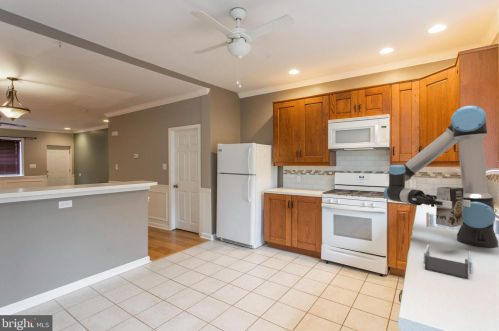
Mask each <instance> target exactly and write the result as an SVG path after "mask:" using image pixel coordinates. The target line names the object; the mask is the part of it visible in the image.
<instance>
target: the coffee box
mask: <svg viewBox="0 0 499 331" xmlns="http://www.w3.org/2000/svg"><path fill="white" fill-rule="evenodd" d="M463 192H464V188H462V187H455V186H444V187H441V186H439V187H436V196H437V199H438V200H445V201H451V202H452V208H446V207H441V206H436V208H435V209H436V211H435V213H436V214H435V224H436V225H438V226H439V225H440V226H444V227H448V228H449V227H450V228H455V227H459V226H460V227H461V225H463Z"/></svg>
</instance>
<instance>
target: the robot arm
mask: <svg viewBox="0 0 499 331" xmlns="http://www.w3.org/2000/svg"><path fill="white" fill-rule="evenodd" d="M450 123H451V124H450V125H449V126H448V127H446V130H445V131H444V132H443V133H442V134H441V135H439V136H438V137H437V138H436V139H434V140H433V141H432V142H431V143H430V144H428V145H427V146H426V147H424V148H423V149H422V150H421V151H419V152H418V153H417V154H415V156H413V157H412V158H410V159H409V160H408V161H407V162H406V163H404V164H391V165H389V169H388V186H387V187H385V188H384V190H383V196H384V197H385V198H386V199H387V200H389V201H393V202H399V203H404V204H406V205H413V206H421V205H425V206H430V207H431V208H435V206H441V207H446V208H452V202H451V201H445V200H438V199H437V195H433V194H426V193H425V192H424V191H423V190H420V189H414V188H407V187H406V182H407V181H409V180H411V178H412V177H414V176H415V175H416V174H418V173H419V172H420V171H421V170H423V169H424V168H425V167H427V166H428V165H430V163H432V162H433V161H434V160H436V159H437V158H439V157H440V156H442V155H443V154H444V153H446V152H447V151H448V150H450V149H451V148H452V147H453V146H454V145H455V144H457V143H458V145H457V146H458V155H459V167H460V168H459V169H460V176H461V177H460V178H461V188H464V192H463V225H460V227H459V229H458V232H457V234H456V241H458V242H460V243H464V244H467V245H469V246H470V245H471V246H476V247H481V248H497V247H499V241H498V238H497V234H496V232H495V230H494V222H495V220H496V212H495V203H496V202H495V198H494V196H493V195H491V194H490V193H489V192H488V190H489V189H488V182H487V181H488V180H487V167H486V159H485V158H486V157H485V156H486V155H485V146H484V144H485V143H484V138H486V136H488V128H487V113H486V112H485V110H484V109H482V108H481V107H479V106H476V105H466V106H465V105H464V106H461V107H460V108H458V109H457V110H455V111H454V113H453V114H452V116H451V119H450Z"/></svg>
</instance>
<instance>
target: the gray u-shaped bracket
mask: <svg viewBox="0 0 499 331" xmlns="http://www.w3.org/2000/svg"><path fill="white" fill-rule="evenodd" d="M471 253H472V252H471V251H468V258H464V262H462V261H455V260H451V259H450V260H449V259H445V258H440V257H436V256H431V255H430V244H429V243H428V244H427V245H426V247H425V250H424V252H423V264H424V270H427V271H430V272H435V273H439V274H442V275H447V276H448V275H449V276H451V277H457V278H460V279H463V280H464V279H466V280H469V274H471V275H472V254H471Z"/></svg>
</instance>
